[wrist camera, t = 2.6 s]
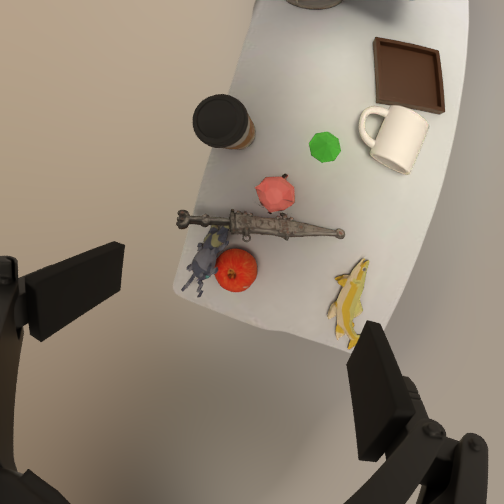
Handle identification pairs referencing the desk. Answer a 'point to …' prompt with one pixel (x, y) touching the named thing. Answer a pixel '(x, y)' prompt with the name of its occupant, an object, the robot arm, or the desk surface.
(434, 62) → the serving tray
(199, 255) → the toy
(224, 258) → the apple
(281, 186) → the cat figurine
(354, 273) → the toy
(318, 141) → the green pyramid
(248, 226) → the decorative dagger
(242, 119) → the coffee cup
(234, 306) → the desk surface
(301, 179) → the desk surface
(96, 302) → the robot arm
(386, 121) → the mug
